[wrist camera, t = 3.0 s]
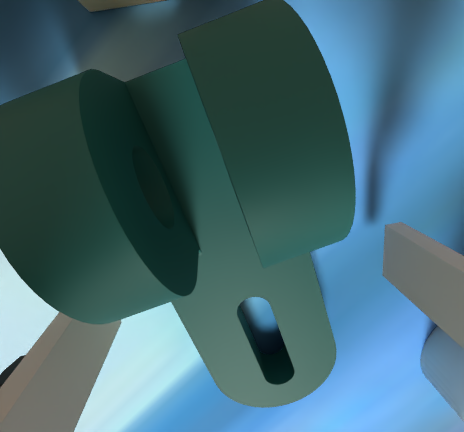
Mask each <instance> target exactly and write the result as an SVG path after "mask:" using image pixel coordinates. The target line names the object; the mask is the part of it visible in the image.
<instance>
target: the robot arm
mask: <svg viewBox="0 0 464 432" xmlns="http://www.w3.org/2000/svg"><path fill="white" fill-rule="evenodd" d="M383 276H384V277H385V278H386V279H387V280H388V281H389V282H390V283H392V284H393V285H394V286H395V287H396V288H397V289H398V290H399V291H400V292H401V293H402V294H404V295H405V296H406V297H407V298H408V299H409V300H410V301H411V302H412V303H413V304H415V305H416V306H417V307H418V308H419V309H420V310H421V311H422V312H423V313H424V314H426V315H427V316H428V317H429V318H430V319H431V320H432V321H433V322H434V323H435V324H437V325H438V326H439V327H440V328H441V329H442V330H443V331H444V332H445V333H446V334H448V335H449V336H450V337H451V338H452V339H453V340H454V341H455V342H456V343H457V344H459V345H460V346H461V347H462V348H463V349H464V256H463V255H461V254H459V253H457V252H456V251H454V250H452V249H450V248H448V247H446V246H445V245H443V244H441V243H439V242H437V241H435V240H433V239H432V238H430V237H428V236H426V235H424V234H422V233H421V232H419V231H417V230H415V229H413V228H411V227H409V226H408V225H406V224H404V223H402V222H399V223H393V224H387V225H385V237H384V256H383ZM120 324H121V320H118V321H115V322H112V323H109V324H101V325H100V324H89V323H85V322H81V321H78V320H75V319H73V318H70V317H68V316H66V315H65V314H63V313H61V312H59V313H58V315H57V316H56V317H55V319H54V320H53V321H52V322H51V324H50V325H49V326H48V327H47V329H46V330H45V331H44V333H43V334H42V335H41V336H40V338H39V339H38V340H37V342H36V343H35V344H34V345H33V347H32V348H31V349H30V350H29V352H28V353H27V354H26V355H24V356H20V357H19V358H18V359H17V360H16V361H14V362H13V363H12V364H11V365H10V366H9V367H7V368H6V369H5V370H4V371H3V372H2V373H1V375H0V432H74V430H75V427H76V425H77V423H78V420H79V418H80V416H81V414H82V411H83V409H84V407H85V404H86V402H87V400H88V398H89V395H90V393H91V391H92V388H93V386H94V384H95V382H96V379H97V377H98V375H99V372H100V370H101V368H102V366H103V363H104V361H105V359H106V356H107V354H108V352H109V350H110V347H111V345H112V343H113V340H114V338H115V336H116V334H117V331H118V329H119V327H120Z"/></svg>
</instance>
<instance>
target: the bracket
mask: <svg viewBox="0 0 464 432" xmlns="http://www.w3.org/2000/svg"><path fill="white" fill-rule="evenodd" d="M178 37H179V40H180V43H181V46H182V49H183V52H184V55H185V57H186V59H183V60H181V61H178V62H176V63H173V64H170V65H168V66H165V67H163V68H160V69H158V70H155V71H153V72H150V73H148V74H145V75H143V76H140V77H137V78H135V79H132V80H130V81H127V82H123V81H120V80H118V79H116V78H114V77H112V76H110V75H107V74H105V73H103V72H101V71H98V70H95V69H90V70H87V71H85V72H82V73H80V74H77V75H75V76H72V77H70V78H67V79H65V80H62V81H60V82H57V83H55V84H52V85H50V86H47V87H45V88H42V89H39V90H37V91H34V92H32V93H29V94H27V95H24V96H22V97H19V98H17V99H14V100H12V101H9V102H7V103H4V104H2V105H0V249H1V250H2V252H3V254H4V255H5V257H6V258H7V260H8V262H9V263H10V264H11V266H12V267H13V268H14V270H15V271H16V272H17V273H18V275H19V276H20V277H21V279H22V280H23V281H24V282H25V283H26V284H27V285H28V286H29V287H30V288H31V289H32V290H33V291H34V292H35V293H36V294H37V295H38V296H39V297H40V298H42V299H43V300H44V301H45V302H46V303H48V304H49V305H50V306H52V307H53V308H55V309H56V310H57V311H59V312H61V313H63V314H65V315H66V316H68V317H70V318H73V319H75V320H78V321H81V322H85V323H89V324H100V325H101V324H109V323H112V322H115V321H118V320H121V319H123V318H126V317H129V316H132V315H135V314H137V313H140V312H143V311H146V310H149V309H151V308H154V307H157V306H160V305H163V304H165V303H168V302H172V304H173V306H174V308H175V310H176V312H177V313H178V315H179V317H180V319H181V321H182V323H183V324H184V326H185V328H186V330H187V332H188V334H189V335H190V337H191V339H192V341H193V343H194V345H195V346H196V348H197V350H198V352H199V354H200V356H201V358H202V359H203V361H204V363H205V365H206V367H207V369H208V370H209V372H210V374H211V376H212V378H213V380H214V381H215V383H216V385H217V386H218V388H219V389H220V390H221V391H222V392H223V393H224V394H225V395H226V396H227V397H229V398H230V399H232V400H234V401H236V402H238V403H241V404H244V405H248V406H253V407H276V406H282V405H286V404H289V403H292V402H295V401H297V400H300V399H302V398H304V397H306V396H307V395H309V394H311V393H312V392H313V391H315V390H316V389H317V388H318V387H319V386H320V385H321V384H322V383H323V382H324V381H325V380H326V379H327V377H328V376H329V374H330V373H331V371H332V369H333V366H334V364H335V360H336V344H335V340H334V337H333V333H332V330H331V326H330V323H329V319H328V315H327V312H326V308H325V305H324V301H323V298H322V294H321V291H320V287H319V284H318V280H317V277H316V273H315V269H314V266H313V262H312V259H311V255H310V252H311V251H313V250H316V249H319V248H322V247H325V246H327V245H330V244H333V243H336V242H339V241H341V240H343V239H344V238H345V237H347V235H348V233H349V232H350V230H351V227H352V224H353V219H354V213H355V176H354V167H353V159H352V153H351V148H350V142H349V137H348V133H347V128H346V124H345V120H344V116H343V113H342V109H341V106H340V102H339V99H338V96H337V93H336V90H335V87H334V84H333V81H332V78H331V76H330V73H329V71H328V68H327V66H326V64H325V61H324V59H323V56H322V54H321V52H320V50H319V48H318V46H317V44H316V42H315V40H314V38H313V37H312V35H311V33H310V31H309V30H308V28H307V26H306V25H305V23H304V22H303V20H302V19H301V18H300V16H299V15H298V14H297V13H296V11H295V10H294V9H293V8H292V7H291V6H290V5H289V4H287V3H286V2H285V1H284V0H263V1H261V2H258V3H256V4H253V5H251V6H248V7H246V8H243V9H241V10H238V11H236V12H233V13H231V14H228V15H226V16H223V17H221V18H218V19H216V20H213V21H211V22H208V23H205V24H203V25H200V26H198V27H195V28H193V29H190V30H188V31H185V32H183V33H180V34H178ZM250 297H261V298H264V299H266V300H267V301H268V302H269V304H270V306H271V308H272V311H273V314H274V316H275V319H276V321H277V324H278V327H279V329H280V332H281V335H282V337H283V340H284V346H283V348H282V349H281V350H280V351H278V352H277V353H274V354H264V353H262V352H261V351H260V350H259V349H258V347H257V344H256V342H255V340H254V337H253V335H252V333H251V330H250V328H249V326H248V323H247V321H246V319H245V316H244V314H243V312H242V309H241V307H240V303H241V302H242V301H244V300H245V299H247V298H250Z"/></svg>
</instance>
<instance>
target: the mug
mask: <svg viewBox="0 0 464 432" xmlns="http://www.w3.org/2000/svg"><path fill="white" fill-rule="evenodd" d="M420 364H421V369H422V372H423V374H424V376H425V377H426V378H427V379H428V381H429V382H430V383H431V384H432V385H433V387H434V388H435V389H436V390H437V391H438V392H439V394H440V395H441V396H442V397H443V398H444V399H445V401H446V402H447V403H448V404H449V405H450V406H451V408H452V409H453V410H454V411H455V412H456V414H457V415H458V416H459V417H460V418H461V419H462V421H463V422H464V349H463V348H462V347H461V346H460V345H459V344H457V343H456V342H455V341H454V340H453V339H452V338H451V337H450V336H449V335H448V334H446V333H445V332H444V331H443V330H442V329H441V328H440V327H439V326H437V327H436V328H435V329H434V330H433V332H432V333H431V334H430V336H429V337H428V339H427V340H426V342H425V344H424V347H423V349H422V353H421V359H420Z"/></svg>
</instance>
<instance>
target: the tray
mask: <svg viewBox="0 0 464 432" xmlns="http://www.w3.org/2000/svg"><path fill="white" fill-rule="evenodd" d="M78 1H79V2H80V3H81V4H82V5H83V6H84V7H85V8H86V9H87V10H88V11H90V12H94V11H101V10H107V9H114V8H120V7H127V6H133V5H140V4H146V3H153V2H159V1H166V0H78Z"/></svg>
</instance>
